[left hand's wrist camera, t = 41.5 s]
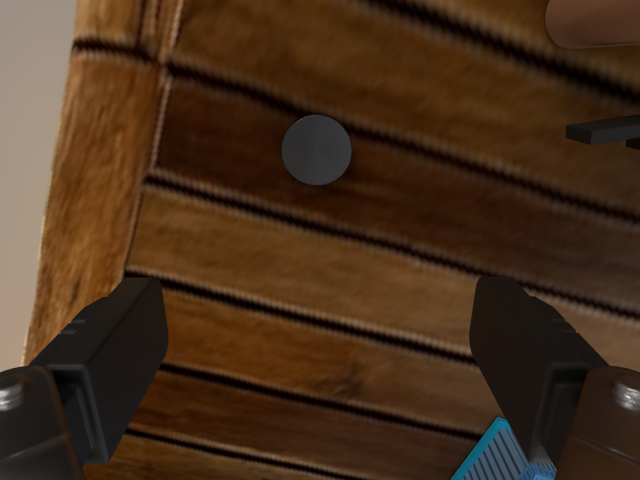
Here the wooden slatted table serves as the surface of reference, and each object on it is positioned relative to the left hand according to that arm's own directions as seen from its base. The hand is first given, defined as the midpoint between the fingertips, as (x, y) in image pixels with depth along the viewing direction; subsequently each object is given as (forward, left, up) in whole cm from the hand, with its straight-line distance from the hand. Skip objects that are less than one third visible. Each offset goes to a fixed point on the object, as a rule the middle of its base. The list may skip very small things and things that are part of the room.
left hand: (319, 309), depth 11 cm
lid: (0, 0, -22) cm, 22 cm away
